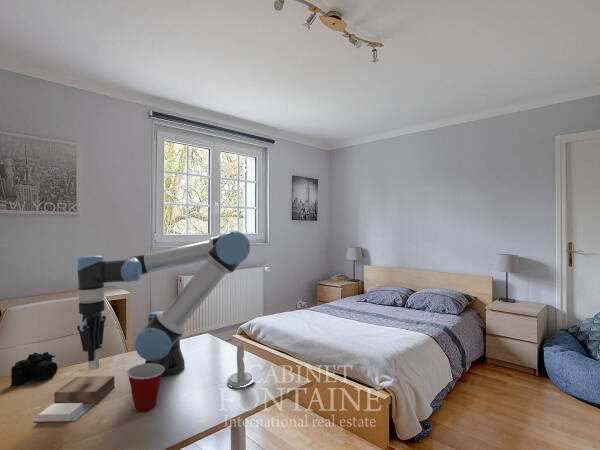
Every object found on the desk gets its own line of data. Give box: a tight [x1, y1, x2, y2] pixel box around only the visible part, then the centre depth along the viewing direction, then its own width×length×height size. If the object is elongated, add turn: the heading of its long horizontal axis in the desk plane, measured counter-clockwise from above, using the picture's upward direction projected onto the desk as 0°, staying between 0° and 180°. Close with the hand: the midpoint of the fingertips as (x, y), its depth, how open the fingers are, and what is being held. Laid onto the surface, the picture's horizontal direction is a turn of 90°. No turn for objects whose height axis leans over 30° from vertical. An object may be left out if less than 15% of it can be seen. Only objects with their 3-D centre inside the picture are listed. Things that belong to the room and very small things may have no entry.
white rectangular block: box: [37, 402, 83, 423], centre depth 99 cm, size 9×6×2 cm, turn 91°
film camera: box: [10, 351, 59, 387], centre depth 124 cm, size 15×10×9 cm, turn 167°
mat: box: [33, 404, 95, 423], centre depth 101 cm, size 12×9×1 cm
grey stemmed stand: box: [226, 340, 253, 388], centre depth 121 cm, size 10×10×15 cm
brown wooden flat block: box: [53, 375, 115, 405], centre depth 111 cm, size 13×11×4 cm
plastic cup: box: [126, 363, 165, 413], centre depth 104 cm, size 11×11×12 cm
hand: (93, 368), depth 115 cm, fingers closed
